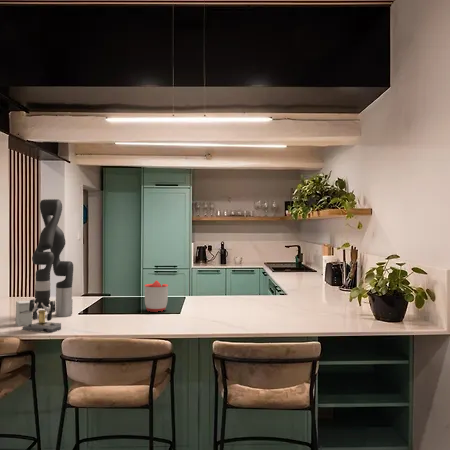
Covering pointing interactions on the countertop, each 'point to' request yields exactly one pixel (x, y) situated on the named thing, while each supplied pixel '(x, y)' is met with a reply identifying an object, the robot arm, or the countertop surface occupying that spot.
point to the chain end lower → (32, 328)
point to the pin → (41, 317)
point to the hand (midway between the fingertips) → (42, 319)
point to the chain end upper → (48, 326)
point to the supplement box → (23, 313)
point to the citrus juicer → (156, 296)
